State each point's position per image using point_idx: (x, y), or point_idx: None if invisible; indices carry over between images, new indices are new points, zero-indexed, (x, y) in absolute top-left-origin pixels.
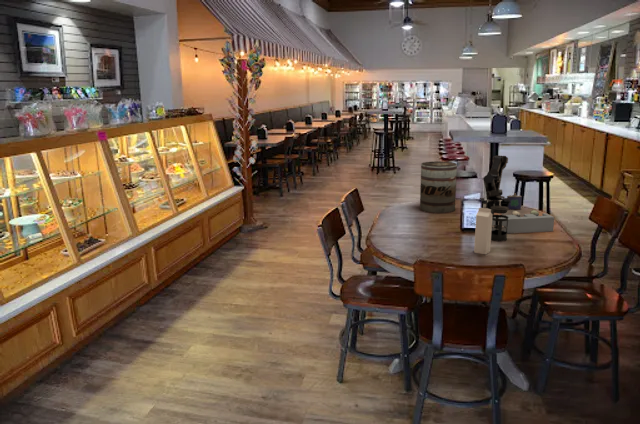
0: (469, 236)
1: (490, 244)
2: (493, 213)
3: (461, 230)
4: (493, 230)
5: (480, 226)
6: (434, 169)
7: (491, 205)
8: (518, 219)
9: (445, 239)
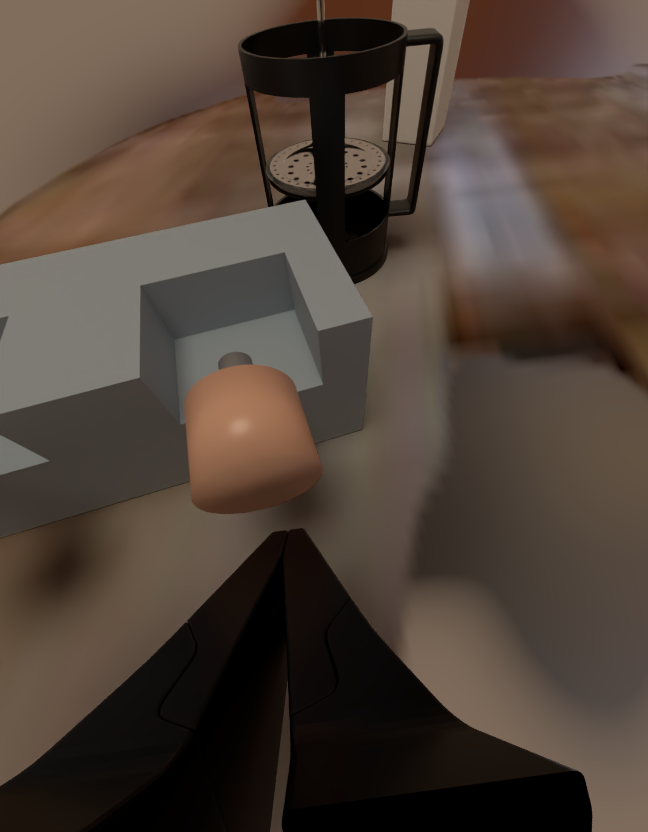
0: (511, 258)
1: (385, 99)
2: (310, 541)
3: (627, 366)
4: (355, 238)
5: None
6: None
7: (375, 726)
8: (69, 256)
9: (635, 202)
